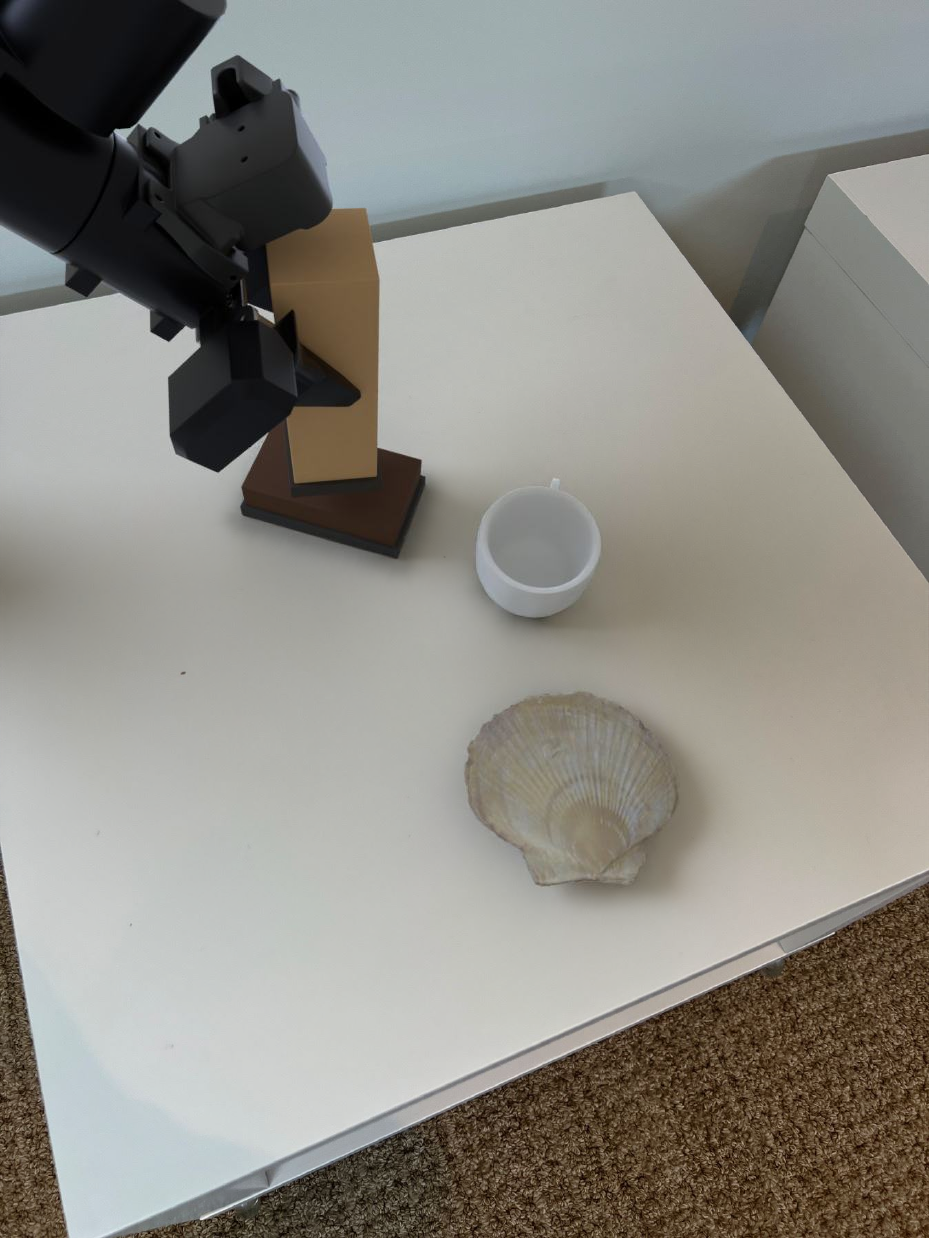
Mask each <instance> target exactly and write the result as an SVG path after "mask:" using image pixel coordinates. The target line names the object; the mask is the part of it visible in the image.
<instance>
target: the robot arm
mask: <svg viewBox="0 0 929 1238" xmlns="http://www.w3.org/2000/svg"><path fill="white" fill-rule="evenodd" d="M227 8H228V0H0V227H2V228H4V229H6V230H8V231H10V232H11V233H13V234H14V235H17V236H18V237H20V238H22V239H24V240H26V241H27V242H29V243H30V244H32V245H34V246H36V247H38V248H40V249H42V250H43V251H45V252H47V253H48V254H49V255H51V256H53V257H55V258H57V259H59V260H61V261H62V262H64V263H65V273H64V274H65V275H64V286H65V287H67V288H69V289H70V290H72V291H74V292H76V293H78V294H79V295H82V296H84V297H85V298H89V296H90V295H91V294H92V292H93V291H94V290H95V289H96V288H97V287H98V286H99V285H100V284H103V285H105V286H106V287H108V288H110V289H112V290H114V291H115V292H117V293H119V294H120V295H122V296H124V297H126V298H127V299H129V300H131V301H133V302H135V303H137V304H138V305H140V306H142V307H144V308H145V309H147V310H149V332H150V333H151V334H153V335H155V336H156V337H159V338H161V339H162V340H164V341H166V342H168V343H170V342H171V341H172V340H173V339H174V338H175V337H176V336H177V335H178V334H179V333H180V332H181V331H182V330H183V329H185V327H187V328H189V329H190V330H194V334H195V335H194V336H195V343H197V344H199V347H198V348H197V350H195V351H194V352H193V353H192V354H191V355H190V356H189V357H188V358H186V360H184V362H182V363H181V364H180V365H179V366H178V367H177V368H176V369H175V370H174V371H173V372H172V373H171V374H170V375H169V376H168V377H167V391H168V393H167V395H168V427H169V428H168V430H169V438H170V441H171V444H172V447H173V450H174V453H175V455H177V456H178V457H181V458H183V459H185V460H188V461H189V462H191V463H194V464H196V465H199V466H201V467H204V468H205V469H208V470H210V471H213V472H215V473H217V474H219V473H220V472H222V471H223V470H224V469H225V468H226V467H228V466H229V465H230V464H232V462H234V461H235V460H236V459H238V458H239V457H240V456H241V455H242V454H244V453H245V452H246V451H248V450H249V449H251V447H252V446H253V445H255V444H256V443H258V442H259V441H260V440H261V439H262V438H264V437H265V436H267V435H268V433H269V432H270V431H271V430H272V429H273V428H275V427H276V426H277V425H278V424H280V423H281V422H282V421H283V420H285V419H286V418H287V417H288V416H290V414H291V412H292V410H293V408H294V407H349V406H351V405H353V404H354V403H355V402H357V401H358V400H359V399H360V398H361V392H360V390H359V389H358V388H356V387H355V386H354V385H353V384H352V383H351V382H350V381H349V380H348V379H347V378H345V377H344V376H343V375H342V374H341V373H339V372H338V371H337V370H335V369H334V368H333V367H331V366H330V365H329V364H327V363H326V362H325V361H324V360H322V359H321V358H320V357H318V356H317V355H316V354H314V353H313V352H312V351H310V350H309V349H308V348H306V347H305V346H304V345H302V344H301V343H300V342H299V338H298V330H297V322H296V314H295V311H294V310H293V309H292V310H291V311H289V312H288V313H287V314H286V315H285V316H284V317H283V318H282V319H281V320H279V321H278V322H277V323H276V324H275V322H273V321H271V320H269V319H268V318H267V317H264V316H263V315H261V314H260V312H259V310H258V309H257V308H259V309H261V310H264V311H267V312H269V313H271V314H273V307H272V299H271V291H270V282H269V273H268V264H267V255H266V246H265V244H267V243H269V242H271V241H274V240H276V239H278V238H280V237H282V236H285V235H287V234H289V233H291V232H293V231H296V230H298V229H304V230H308V229H310V228H312V227H315V226H317V225H318V224H320V223H321V222H323V221H324V220H325V219H326V218H327V217H328V215H329V214H330V212H331V210H332V209H333V208H334V207H333V206H334V199H333V194H332V192H331V187H330V184H329V177H328V170H327V166H328V162H327V157H326V155H325V153H324V151H323V150H322V148H321V146H320V144H319V142H318V140H317V139H316V137H315V136H314V134H313V132H312V130H311V128H310V127H309V125H308V123H307V121H306V119H305V118H304V116H303V108H302V104H301V103H302V102H301V97H300V95H299V93H297V91H296V90H293V89H291V88H290V89H289V88H286V86H285V85H284V82H283V81H282V79H281V78H280V77H279V78H277V79H275V80H273V78H272V77H270V76H269V75H268V74H266V73H265V72H264V71H262V70H261V69H259V68H258V67H257V66H255V65H254V64H252V63H251V62H250V61H248V60H247V59H245V58H244V57H242V56H241V55H240V54H239V55H238V54H235V55H234V56H232V57H230V58H228V59H226V60H224V61H222V62H220V63H218V64H216V65H214V66H213V67H212V68H211V69H210V80H211V94H212V103H213V110H214V112H212V113H211V114H210V115H209V116H208V115H207V114H205V115H203V116H201V117H199V118H198V122H199V123H198V124H199V128H198V129H197V130H196V132H195V133H194V134H193V135H192V136H191V137H189V138H188V139H186V140H185V141H183V142H181V143H180V142H177V141H175V140H173V139H171V138H169V137H168V136H166V135H165V134H164V133H163V132H162V131H160V130H159V129H157V128H156V127H153V126H150V127H148V128H145V127H144V126H143V125H141V124H140V123H139V122H140V121H141V119H142V118H143V117H144V115H146V113H147V112H148V111H149V109H150V108H151V107H152V106H153V104H154V103H155V102H156V100H158V98H159V97H160V95H161V94H162V93H163V92H164V90H165V89H166V88H167V87H168V85H169V84H170V83H171V82H172V80H173V79H175V77H176V75H177V74H178V73H179V72H180V70H181V69H182V68H183V67H184V66H185V64H186V63H187V62H188V60H189V59H190V58H191V57H192V55H194V53H195V52H196V50H197V49H198V48H199V46H200V45H201V44H202V43H203V42H204V41H205V39H206V38H207V37H208V36H209V34H210V33H211V32H212V31H213V29H214V28H215V27H216V25H218V23H219V22H220V20H221V19H222V18H223V16H224V15H225V14H226V11H227ZM134 126H135V127H134ZM133 127H134V128H133ZM132 128H133V129H132ZM127 129H132V131H131V132H130V133H129V134H128V136H127V137H124V136H123V135H121V134H120V133H118V132H117V131H116V130H127Z"/></svg>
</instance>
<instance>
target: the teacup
mask: <svg viewBox="0 0 929 1238" xmlns="http://www.w3.org/2000/svg"><path fill="white" fill-rule="evenodd" d="M561 482H562V480H561V479H560V478H557V477H553V478H552V480H551V482H550V485H549V486H541V485H533V486H532V485H531V486H530V485H529V486H524V487H520V488H516V489H513V490H511V491H508V492H506V493H505V494H503V495H502V496H500V497H498V498H497V499H496V500H495V501H494V502H493V503H492V504H491V505H490V506H489V508H488V509H487V510H486V512H485V513H484V515H483V517H482V519H481V521H480V524H479V527H478V529H477V530H478V531H477V536H476V545H475V568H476V572H477V576H478V579H479V582H480V583H481V585H482V587H483V589H484V591H485V592H486V594H487V595H488V596H489V598H490V599H491V600H492V601H493V602H494V603H495V604H496V605H497V606H498V607H500V608H502V609H503V610H505V611H506V612H508V613H511V614H514V615H517V616H519V617H524V618H545V617H549V616H552V615H556V614H557V613H560V612H562V611H564V610H565V609H567V608H568V607H571V606H572V605H573V604H574V603H575V602H576V601H578V599H579V598H580V597H581V596H582V594H583V593H584V592H585V590H586V589H587V587H588V586H589V584H590V582H591V580H592V578H593V577H594V575H595V573H596V570H597V568H598V566H599V562H600V558H601V552H602V539H601V533H600V529H599V526H598V524H597V521H596V519H595V518H594V516H593V514H592V513H591V512H590V511H589V509H588V507H586V506H585V505H584V504H583V503H582V502H581V501H580V500H579V499H577V498H575V497H574V496H572V495H571V494H569V493H567V492H565V491H562V490H561Z"/></svg>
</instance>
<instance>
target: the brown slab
mask: <svg viewBox="0 0 929 1238" xmlns="http://www.w3.org/2000/svg"><path fill="white" fill-rule="evenodd" d="M377 451H378V457H379V463H380V469H381V475H382V490H375V491H364V492H352V493H341V494H330V495H318V496H307V497H296V498H292V497H291V491H290V482H289V473H288V464H287V455H286V446H285V436H284V427H283V421H282V422H281V423H280V424H278V425H277V426H276V427H275V428H273V429H272V430H271V431H270V432H268V433H267V434H266V437H265V439H264V440H263V443H262V445H261V447H260V448H259V450H258V453H257V455H256V456H255V459H254V460H253V462H252V465H251V466H250V468H249V470H248V472H247V475H246V477H245V478H244V481H243V483H242V485H241V487H240V488H241V493H242V496H243V499H242V502H241V504H240V507H239V508H240V512H241V515H242V516H245V517H248V518H252V519H256V520H258V521H262V522H265V523H269V524H273V525H276V526H279V527H284V528H287V529H290V530H293V531H297V532H301V533H304V534H309V535H311V536H315V537H318V538H322V539H325V540H329V541H332V542H336V543H338V544H342V545H347V546H350V547H353V548H357V549H360V550H364V551H368V552H371V553H374V554H377V555H378V554H379V555H381V556H385V557H388V558H392V559H396V560H397V559H398V558H399V556H400V553H401V551H402V547H403V545H404V541H405V540H406V537H407V534H408V532H409V530H410V526H411V523H412V522H413V521H412V520H413V519H414V515H415V513H416V511H417V507H418V505H419V502H420V501H421V500H420V499H421V497H422V494H423V492H424V489H425V487H426V480H427V479H426V477H427V476H425V475H422V461H423V460H422V459H420V458H417V457H413V456H410V455H406V454H402V453H399V452H395V451H392V450H389V449H384V448H381V447H377Z"/></svg>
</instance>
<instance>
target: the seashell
mask: <svg viewBox="0 0 929 1238" xmlns="http://www.w3.org/2000/svg"><path fill="white" fill-rule="evenodd" d="M466 751H467V754H468V755H467V759H466V761H465V762H464V770H463V771H464V772H463V774H464V782H465V784H466V792H467V801H468V806H469V808H470V809H471V812H472V813H473V815H474V817H475V818H476V819H477V820H478V821H479V822H480V823H481V825H483V826H484V827H486V828H487V829H488V830H490V831H491V832H493V833H494V834H495V835H496V836H497V837H498V838H499V839H501V840H503V841H504V842H506V843H508V844H510V845H512V847H515V848H517V849H518V850H520V852H521V854H522V858H523V860H524V862H525V864H526V867H527V869H528V872H529V874H530V876H531V879H532V881H533V883H534V885H536V886H539V887H551V886H557V885H564V884H575V883H576V884H578V883H586V882H597V883H604V884H605V883H606V884H614V885H627V886H628V885H631V884H633V883H634V882H635V878H636V877H637V875H638V873H639V872H640V868H641V867H642V866H643V865H644V863H645V862H646V860H647V850H648V849H647V846H646V842H647V840H649V839H650V838H652V837H653V836H655V835H657V834H658V833H659V832H660V831H661V830H662V828H664V827H665V826H666V824H667V823H668V821H669V819H670V818H671V817H673V815H674V813H675V812H676V809H677V807H678V804H679V802H680V782H679V779H678V775H677V771H676V768H675V767H674V765H673V763H672V760H671V758H670V756H669V755H668V753H667V752H666V750H665V748H664V747H663V746H662V744H661V743H660V741H659V740H658V738H657V736H655V734H654V733H653V732H652V731H651V730H650V729H648V728H647V727H645V725H644V723H643V722H642V721H641V720H640V719H637V718H635V717H634V716H633V715H632V713H630V711H628V710H627V709H626V708H625V707H623V706H621V705H619V704H617V703H616V702H614V701H611V700H610V699H608V698H605V697H600V696H597V695H595V694H593V693H591V692H589V691H574V692H573V693H568V694H566V693H561V692H558V693H553V694H552V693H551V694H550V693H544V694H542V695H528V696H526V697H525V698H524V699H523V700H522V701H519V702H517V703H514V704H511V705H510V706H509V707H507V708H505V709H503V710H502V711H500V712H499V713H495V714H493V715H492V717H491V719H490V720H489V721H486V722H485V723H483V724H482V725H481V727H480V729H479V731H478V733H477V735H476V737H474V738H473V739H471V740H470V741H469V743H468V746H467V747H466Z"/></svg>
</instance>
